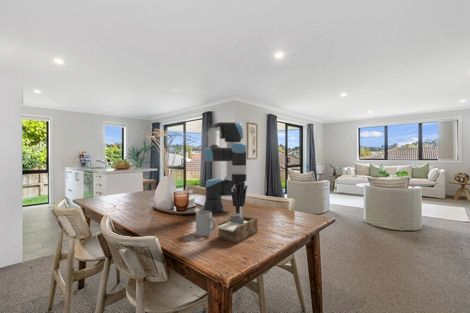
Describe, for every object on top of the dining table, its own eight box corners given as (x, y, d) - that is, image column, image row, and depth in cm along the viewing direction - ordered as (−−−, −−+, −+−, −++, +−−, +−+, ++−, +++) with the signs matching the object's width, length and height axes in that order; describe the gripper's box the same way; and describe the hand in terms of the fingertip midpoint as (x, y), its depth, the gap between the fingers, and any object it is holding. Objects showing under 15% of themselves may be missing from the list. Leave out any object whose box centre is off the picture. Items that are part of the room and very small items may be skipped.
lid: (236, 220, 123) (236, 213, 123) (249, 223, 119) (249, 215, 118) (217, 228, 111) (217, 219, 111) (232, 231, 106) (232, 223, 106)
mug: (192, 233, 120) (192, 212, 120) (203, 229, 127) (203, 209, 127) (209, 238, 113) (209, 216, 113) (220, 233, 120) (220, 213, 120)
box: (238, 228, 129) (238, 215, 129) (257, 232, 122) (257, 218, 122) (218, 238, 114) (218, 223, 114) (238, 243, 107) (238, 227, 107)
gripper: (239, 172, 125) (239, 215, 125) (225, 174, 114) (225, 220, 115) (251, 172, 121) (251, 217, 121) (238, 174, 110) (238, 223, 110)
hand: (239, 219), depth 118 cm, fingers closed
